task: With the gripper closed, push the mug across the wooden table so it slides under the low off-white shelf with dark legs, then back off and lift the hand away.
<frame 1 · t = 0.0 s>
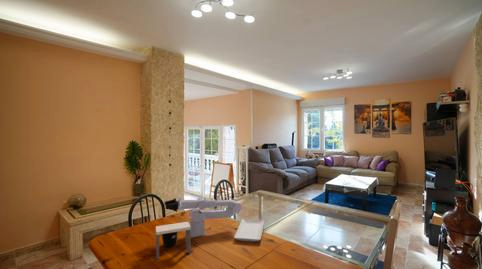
hand: (165, 205, 142), 22 cm above the table, tool horizontal, fingers open, 7 cm apart
shelf: (173, 252, 127), on the table
tray: (250, 233, 153), on the table
mug: (171, 244, 137), on the table
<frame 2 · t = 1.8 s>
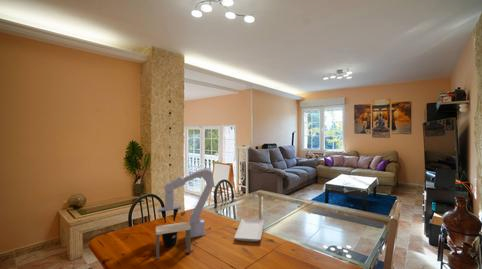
hand: (169, 221, 147), 9 cm above the table, tool pointing down, fingers open, 5 cm apart
nothing on the table moved.
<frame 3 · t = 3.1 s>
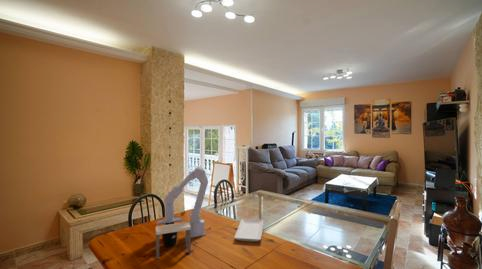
hand: (169, 233, 147), 1 cm above the table, tool pointing down, fingers closed
nothing on the table moved.
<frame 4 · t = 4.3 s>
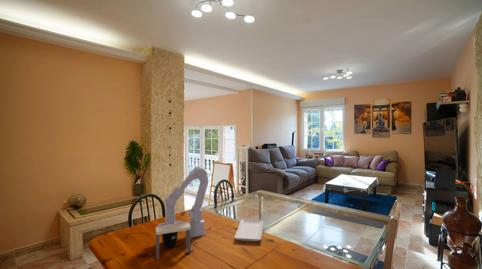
hand: (170, 237, 142), 1 cm above the table, tool pointing down, fingers closed
mug: (171, 244, 136), on the table, touching gripper
everything else where it was.
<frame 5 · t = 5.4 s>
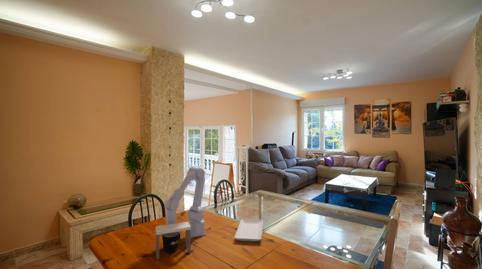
hand: (171, 242, 135), 2 cm above the table, tool pointing down, fingers closed, pressing on mug
mug: (172, 249, 130), on the table, touching gripper
everything else where it was.
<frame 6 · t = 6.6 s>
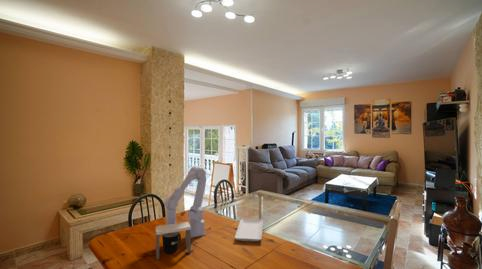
hand: (171, 240, 138), 1 cm above the table, tool pointing down, fingers closed
mug: (172, 250, 130), on the table
everything else where it was.
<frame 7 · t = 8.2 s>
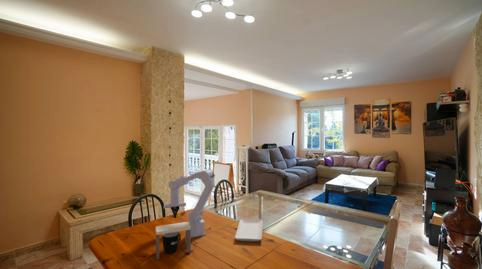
hand: (174, 217, 154), 9 cm above the table, tool pointing down, fingers closed
nothing on the table moved.
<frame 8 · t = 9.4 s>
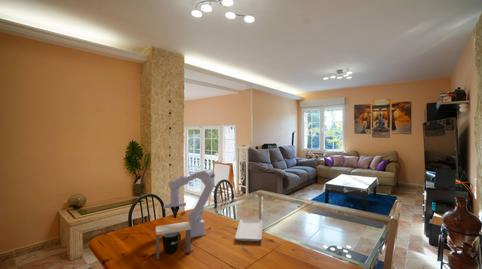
hand: (174, 217, 154), 9 cm above the table, tool pointing down, fingers closed
nothing on the table moved.
at the end: mug inside the target area (3.1 cm from its centre), on the table; mug tilted 0° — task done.
